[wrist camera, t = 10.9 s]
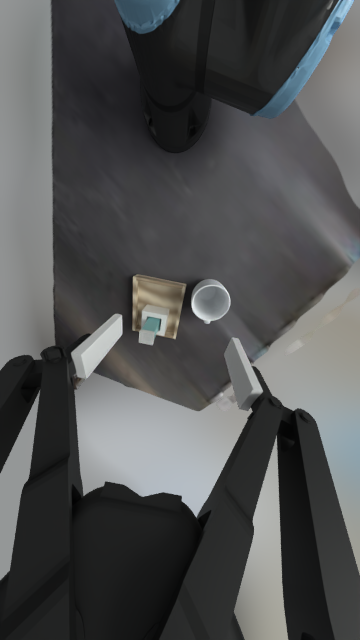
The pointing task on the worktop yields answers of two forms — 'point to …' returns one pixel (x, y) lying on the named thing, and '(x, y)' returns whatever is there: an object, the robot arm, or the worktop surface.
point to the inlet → (156, 313)
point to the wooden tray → (157, 300)
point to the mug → (210, 300)
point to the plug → (149, 331)
